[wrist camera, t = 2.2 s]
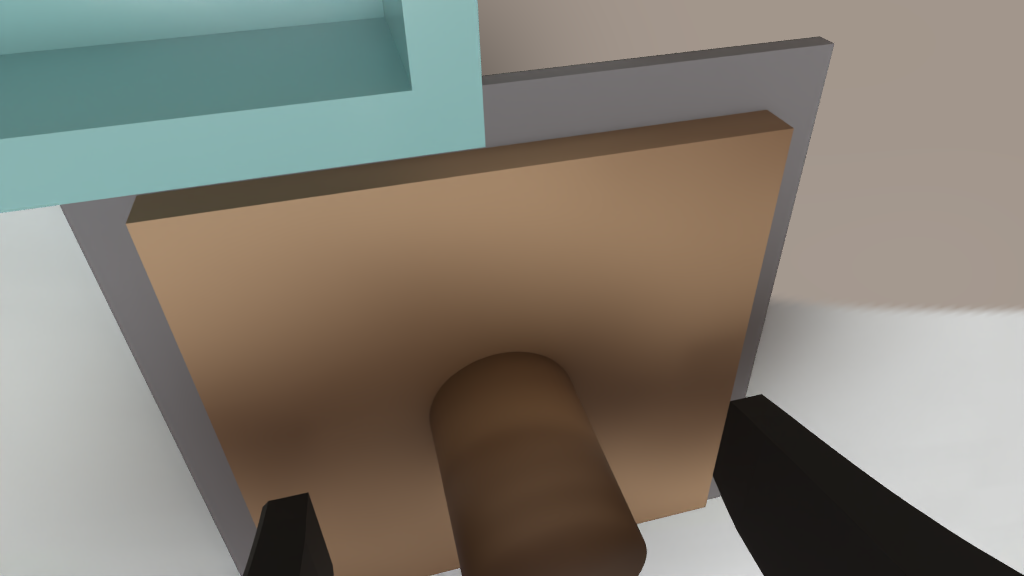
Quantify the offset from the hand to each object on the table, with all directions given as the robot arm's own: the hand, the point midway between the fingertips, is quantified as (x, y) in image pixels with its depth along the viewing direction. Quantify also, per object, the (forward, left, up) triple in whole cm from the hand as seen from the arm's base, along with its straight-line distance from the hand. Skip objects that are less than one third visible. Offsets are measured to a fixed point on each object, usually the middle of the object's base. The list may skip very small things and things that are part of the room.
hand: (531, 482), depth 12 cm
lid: (0, 0, -3) cm, 3 cm away
